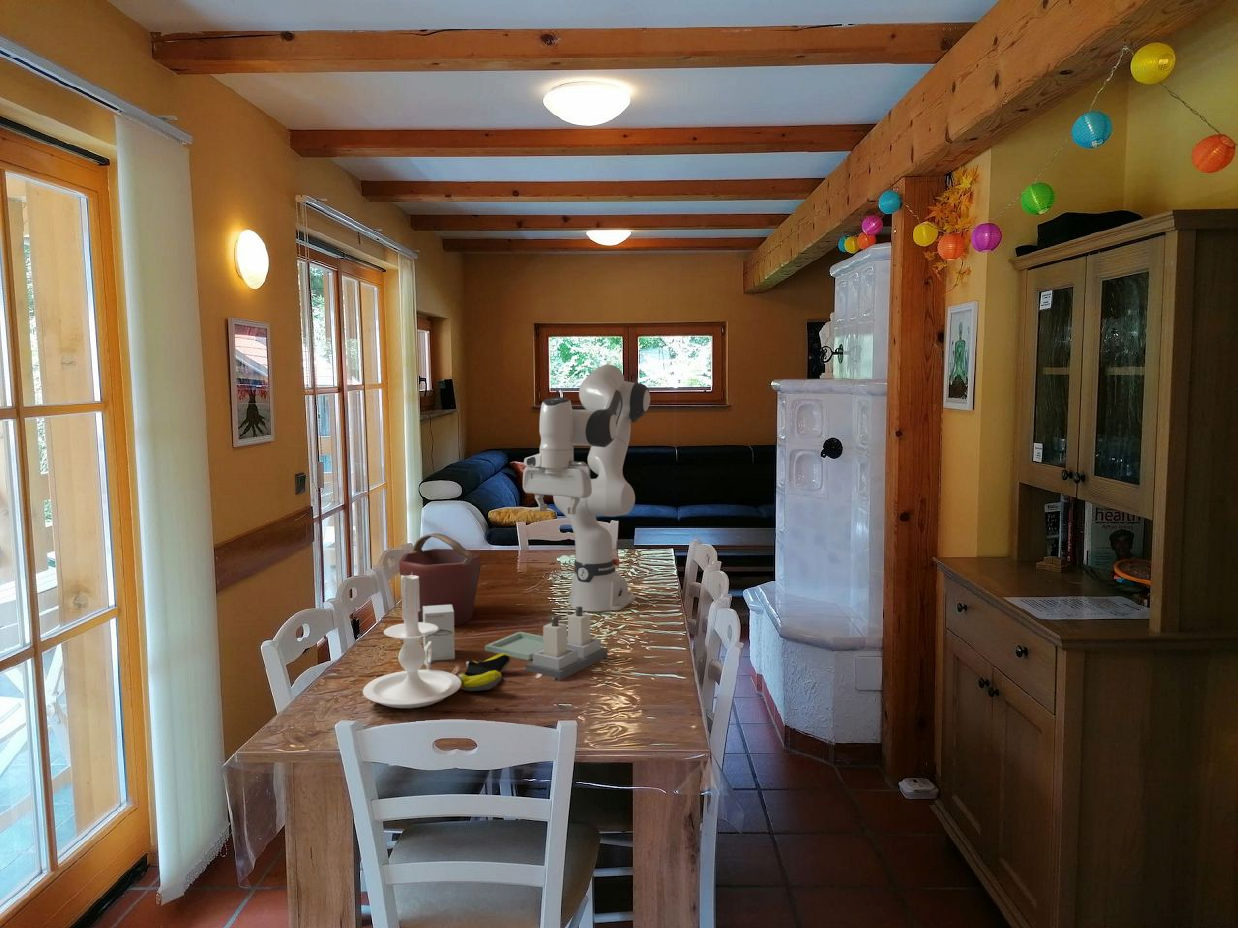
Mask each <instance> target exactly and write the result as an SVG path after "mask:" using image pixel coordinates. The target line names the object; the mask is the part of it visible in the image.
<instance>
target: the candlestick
mask: <svg viewBox="0 0 1238 928" xmlns="http://www.w3.org/2000/svg"><path fill="white" fill-rule="evenodd" d="M412 573H413V572H412ZM400 583H401V584H400V589H401V590H400V591H401V592H400V593H401V594H400V597H401V602H402V605H401V606H402V609H401V610H402V617H401V619H402V620H403V623H398V624H394V625H390V626H389V627H387V628H385V629H384V630H383V634H384V635H385V636H387V637H390V638H395V639H401V640H403V645H402V646H401V648H400V650H399V652H398V657H397V658H398V662H399V664H400V665H401V667H402V668H403V670H402V671H396V672H392V673H388V674H384V675H382V676H379V677H376V678H375V679H373V680H371V681H370V682H368V683H367V684H366V685H365V686H364V687H363V689H362V694H363V696H364V697H365V698H366V699H367V700H370V701H372V702H375V703H378V704H380V705H382V706H386V707H389V708H395V709H416V708H422V707H427V706H430V705H434V704H435V703H439V702H440V701H442V700H445V698H447V697H449V696H451V695H453V694H454V693H456V692H457V691H458V690H459V689H461V688H460V686H461V680H460V678H459V676H458V675H455V674H454V673H451V672H448V671H444V670H438V669H431V663H432V662H431V659H432V647H431V645H432V641H429V642H428V644H427V645H426V646H425V649H424V646H422V644H421V639H422V638H423V637H424V636H427V635H431V634H433V633H435V632H436V631H438V629H439V628H438V626H436V625H434V624H431V623H424V622H418V612H419V611H420V600H419V576H416V575H412V574H411V575H408V576H403V575H401V576H400ZM427 653H428V659H427ZM423 665H425V667H426V669H422V666H423Z"/></svg>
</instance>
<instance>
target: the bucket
mask: <svg viewBox="0 0 1238 928" xmlns="http://www.w3.org/2000/svg"><path fill="white" fill-rule="evenodd" d="M430 538H434V539H435V538H436V539H438V540H439V541H442V542H444V543H445V544H447V545H448V546H450V549H449V548H447V549H445V548H433V549H425V550H423V549H422V548H423V547H424V545H425V544H426V541H428V540H430ZM481 557H482V556H481V555H480V554H477V553H476V552H473V551H472V550H469V549H467V548H465V547H464V546H462V544H461V543H460V542H458V541H457V540H455V539H453V538H452V537H450V536H447V535H445V534H442V533H437V532H435V533H429V534H428V533H427V534H425V535H423V536H421V537H419V538H418V539H417V540H416V541H415V543H414V545H413V546H412V552H409V553H408V552H407V553H404V554H403V555H402V557H401V558H400V559H399V561H398V565H399V567H398V568H399V569H398V570H399V571H398V572H399V576H400V577H401V575H403V576H408V575H411V574H412V575H416V576H419V600H420V611H419V612H418V622H423V606H435V605H451V604H452V606H453V610H454V626H456V627H459V626H461V625H463V624H465V623H466V621H467V620H469V619H471V620H472V617H473V612H474V605H475V601H476V595H477V594H476V593H477V588H478V584H479V580H480V579H479V578H480V573H481V567H482V565H481V564H482V562H481V561H482V559H481ZM412 572H413V573H412ZM469 621H470V620H469ZM464 622H465V623H464ZM467 622H468V621H467ZM462 623H463V624H462ZM460 624H461V625H460ZM458 625H459V626H458Z"/></svg>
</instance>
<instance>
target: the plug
mask: <svg viewBox="0 0 1238 928" xmlns="http://www.w3.org/2000/svg"><path fill="white" fill-rule="evenodd" d="M567 638H568V643H569V644H574V645H578V646H584V645H586V644H589V643H591V638H592V637H591V614H588V613H583V611H582V607H576V609H575V612H574V613H572V614H569V615H567Z"/></svg>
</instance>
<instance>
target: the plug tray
mask: <svg viewBox="0 0 1238 928" xmlns="http://www.w3.org/2000/svg"><path fill="white" fill-rule="evenodd" d="M542 649H543V635H538V634H534V633H533V634H532V633H529V632H523V631H517V632H515V633H513V634H510V635H508V636H506V637H502V638H501V639H498V640H495V641H493V642H490V643H488V644H486V645H484V651H485V652H491V653H495V654H497V655H498V654H502V653H506V654H508V655H509V657H512V658H517V659H521V660H526V661H530V660H533V653H536V652H538V651H540V650H542Z"/></svg>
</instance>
